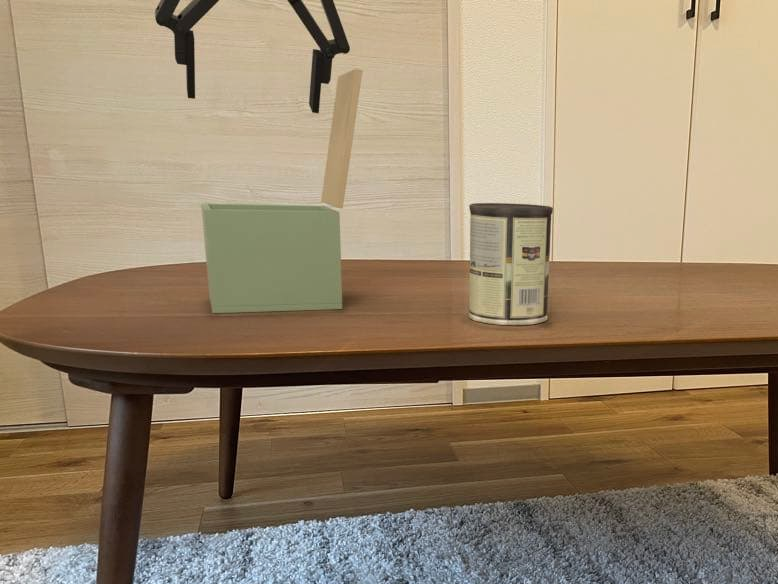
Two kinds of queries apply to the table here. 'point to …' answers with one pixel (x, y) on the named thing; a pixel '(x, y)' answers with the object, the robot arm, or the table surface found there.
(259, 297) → the chest
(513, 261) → the coffee can
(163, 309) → the table surface
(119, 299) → the table surface
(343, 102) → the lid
